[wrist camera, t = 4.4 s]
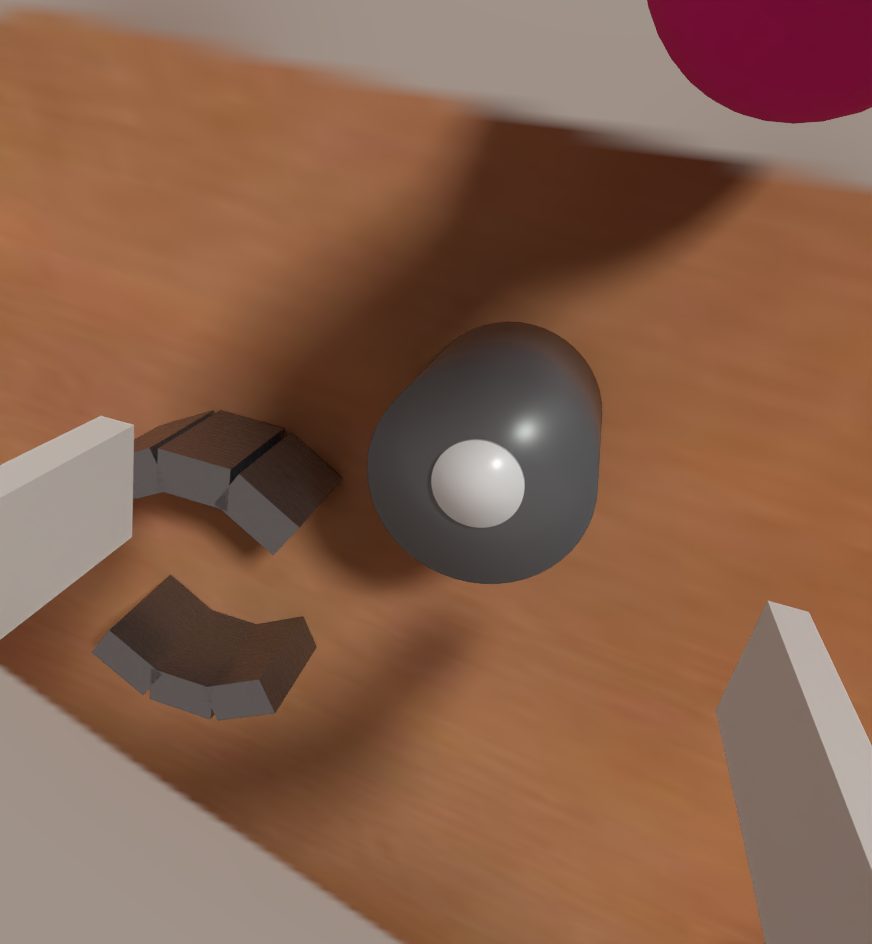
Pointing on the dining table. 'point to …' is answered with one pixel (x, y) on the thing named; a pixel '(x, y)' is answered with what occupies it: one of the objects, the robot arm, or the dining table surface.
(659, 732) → the dining table surface
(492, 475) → the cap
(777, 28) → the pepper mill
